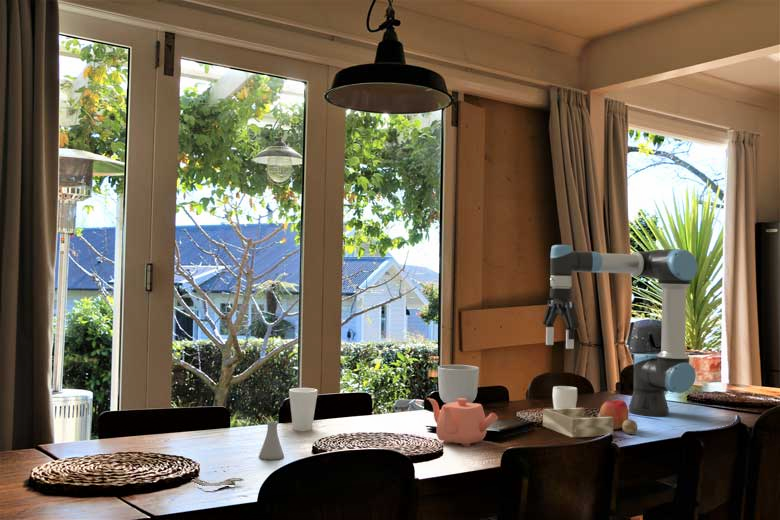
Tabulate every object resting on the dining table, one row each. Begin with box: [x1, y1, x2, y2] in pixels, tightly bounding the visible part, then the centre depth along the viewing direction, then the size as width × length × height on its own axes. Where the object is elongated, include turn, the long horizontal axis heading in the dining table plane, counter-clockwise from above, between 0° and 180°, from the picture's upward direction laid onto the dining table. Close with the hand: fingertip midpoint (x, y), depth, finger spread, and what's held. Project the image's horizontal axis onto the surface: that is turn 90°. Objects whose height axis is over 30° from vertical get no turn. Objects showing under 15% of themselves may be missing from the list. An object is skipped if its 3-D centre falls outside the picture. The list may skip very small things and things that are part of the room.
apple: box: [599, 399, 629, 430], centre depth 271 cm, size 10×10×10 cm
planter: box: [437, 364, 480, 404], centre depth 313 cm, size 17×17×15 cm
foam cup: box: [288, 387, 318, 432], centre depth 258 cm, size 10×9×13 cm
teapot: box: [426, 397, 499, 447], centre depth 243 cm, size 18×18×14 cm
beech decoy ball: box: [621, 418, 639, 435], centre depth 262 cm, size 5×5×5 cm
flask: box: [258, 420, 285, 461], centre depth 217 cm, size 7×7×10 cm
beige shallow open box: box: [542, 407, 614, 438], centre depth 266 cm, size 16×19×6 cm
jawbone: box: [191, 477, 245, 486], centre depth 190 cm, size 9×20×2 cm, turn 63°
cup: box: [551, 385, 578, 409], centre depth 285 cm, size 9×9×12 cm
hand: (559, 346), depth 276 cm, fingers open, 13 cm apart
